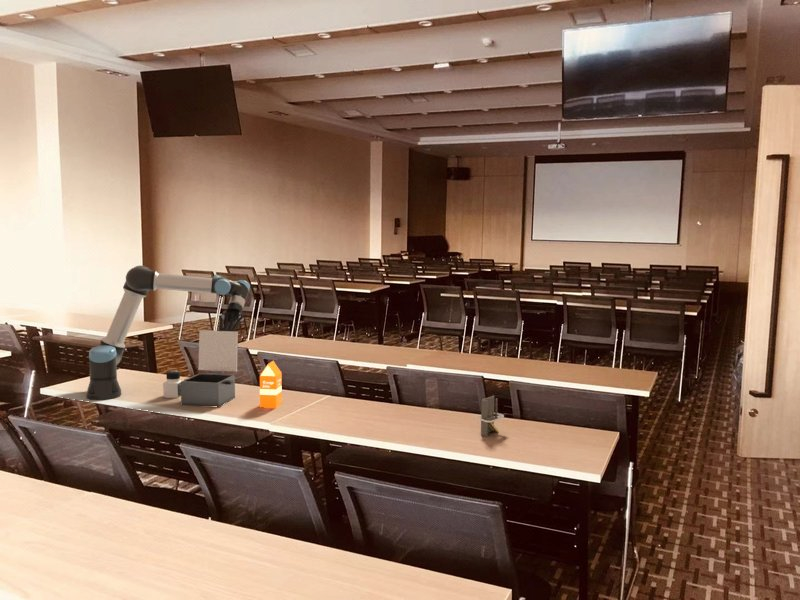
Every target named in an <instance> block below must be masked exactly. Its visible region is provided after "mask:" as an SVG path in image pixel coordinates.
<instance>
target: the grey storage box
mask: <svg viewBox="0 0 800 600" xmlns="http://www.w3.org/2000/svg"><path fill="white" fill-rule="evenodd" d="M235 375H236V374H221V373H197V374H195V375H193V376H190V377H188V378H184V379H182V380H183V381H181V396H180V399H181V400H180V405H181V406H182V407H183V406H185V407H201V406H217V407H216V408H220V407H222V406H223V404H224V403H225V404H227V403H229V402H230V401H232V400H234V399H236V376H235ZM233 398H234V399H233ZM231 399H232V400H231ZM229 400H230V401H229ZM228 401H229V402H228ZM226 402H227V403H226ZM225 404H224V405H225ZM221 405H222V406H221ZM219 406H220V407H219Z"/></svg>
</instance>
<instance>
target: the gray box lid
mask: <svg viewBox="0 0 800 600" xmlns="http://www.w3.org/2000/svg"><path fill="white" fill-rule="evenodd" d="M198 334H199V335H198V371H211V372H210V374H222V375H225V372H234V373H235V372H238V345H239V344H238V343H239V342H238V339H239V331H236V332H235V331H219V330H208V329H207V330H206V329H202V330H201V329H200V330H199V333H198Z"/></svg>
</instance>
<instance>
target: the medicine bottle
mask: <svg viewBox="0 0 800 600" xmlns="http://www.w3.org/2000/svg"><path fill="white" fill-rule="evenodd" d="M183 380H184V379H182V380H181V372H180V371H178V370H169V371H167V372H166V381H165V382H163V384H162V385H163V386H162V388H163V389H162V391H163V398H164V397H166V398H169V399H173V398H174V399H178V398H181V381H183Z"/></svg>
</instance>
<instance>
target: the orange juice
mask: <svg viewBox="0 0 800 600" xmlns="http://www.w3.org/2000/svg"><path fill="white" fill-rule="evenodd" d="M282 374H283V373H282V371H281V370H280V368H279V367H278V366H277V364H276V363H275V360H272V361H270V362H269V363H268V364H267V365H266V366H265V368H264V369H263V370H262V372H261V373H260V375H259V408H261V407H264V408H265V409H277V408H278V407H279V406H281V403H282V402H283V399H282V398H283V395H282V393H283V391H282V389H283V388H282V378H283V376H282ZM264 408H263V409H264ZM261 409H262V408H261Z"/></svg>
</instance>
